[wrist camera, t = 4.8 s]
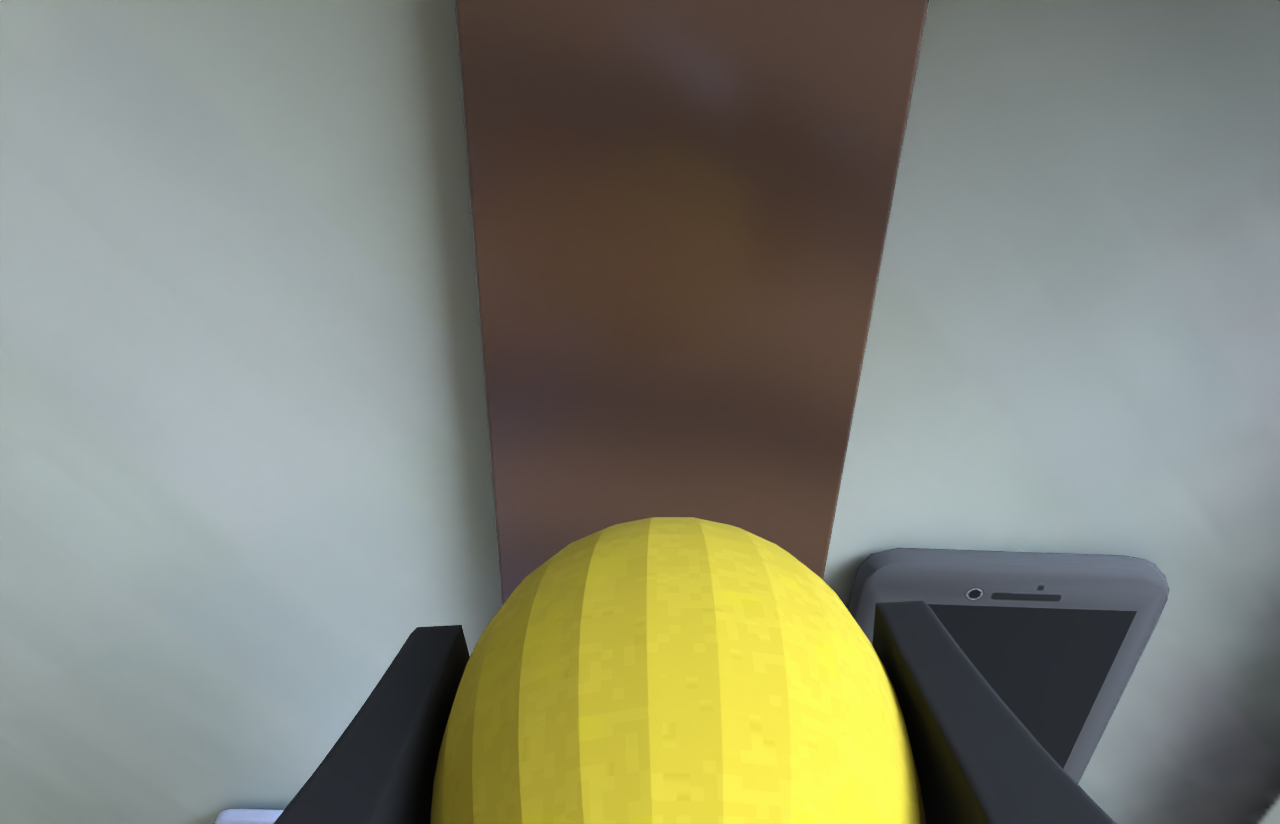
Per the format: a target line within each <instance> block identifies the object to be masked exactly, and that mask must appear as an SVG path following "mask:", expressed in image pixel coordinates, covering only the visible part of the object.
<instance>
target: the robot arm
mask: <svg viewBox="0 0 1280 824" xmlns="http://www.w3.org/2000/svg"><path fill="white" fill-rule="evenodd" d="M872 646H873V647H874V649H875V651H876V653H877V654H878V656H879V658H880V660H881V662H882V663H883V665H884V667H885V669H886V672H887V674H888V676H889V678H890V681H891V683H892V685H893V687H894V690H895V692H896V695H897V698H898V701H899V704H900V707H901V710H902V713H903V716H904V719H905V724H906V728H907V732H908V736H909V740H910V744H911V748H912V753H913V757H914V761H915V765H916V769H917V773H918V778H919V782H920V787H921V793H922V799H923V805H924V811H925V818H926V824H1116V823H1115V822H1114V821H1113V820H1112V819H1111V818H1110V817H1109V816H1108V815H1107V814H1106V813H1105V812H1104V811H1103V810H1102V809H1101V808H1100V807H1099V806H1098V805H1097V804H1096V803H1095V802H1094V801H1093V800H1092V799H1091V798H1090V797H1089V796H1088V795H1087V794H1086V793H1085V792H1084V791H1083V790H1082V788H1081V787H1080V786H1079V785H1078V784H1077V783H1076V782H1075V781H1074V780H1073V779H1072V778H1071V777H1070V776H1069V775H1068V774H1067V773H1066V772H1065V771H1064V770H1063V769H1062V767H1061V766H1060V765H1059V764H1058V763H1057V762H1056V761H1055V760H1054V759H1053V758H1052V757H1051V755H1050V754H1049V753H1048V752H1047V751H1046V750H1045V749H1044V748H1043V747H1042V746H1041V744H1040V743H1039V742H1038V741H1037V740H1036V739H1035V738H1034V736H1033V735H1032V734H1031V733H1030V732H1029V731H1028V729H1027V728H1026V727H1025V726H1024V725H1023V724H1022V723H1021V721H1020V720H1019V719H1018V718H1017V717H1016V716H1015V714H1014V713H1013V712H1012V711H1011V710H1010V709H1009V708H1008V706H1007V705H1006V704H1005V703H1004V702H1003V700H1002V699H1001V698H1000V697H999V696H998V694H997V693H996V692H995V691H994V690H993V688H992V687H991V686H990V685H989V684H988V682H987V681H986V680H985V679H984V677H983V676H982V675H981V674H980V672H979V671H978V670H977V669H976V667H975V666H974V665H973V664H972V662H971V661H970V660H969V658H968V657H967V656H966V655H965V653H964V652H963V651H962V649H961V648H960V647H959V646H958V644H957V643H956V642H955V640H954V639H953V638H952V636H951V635H950V634H949V632H948V631H947V630H946V628H945V627H944V625H943V624H942V623H941V621H940V620H939V619H938V617H937V616H936V615H935V613H934V612H933V610H932V609H931V608H930V606H928V605H927V604H926V603H925V602H924V601H905V602H886V603H876V605H875V617H874V628H873V640H872ZM469 658H470V656H469V652H468V648H467V644H466V641H465V637H464V633H463V629H462V625H452V626H433V627H417V628H416V629H415V630H414V631H413V632H412V633H411V634H410V636H409V637H408V639H407V641H406V642H405V644H404V645H403V647H402V648H401V650H400V651H399V653H398V654H397V656H396V657H395V659H394V660H393V662H392V663H391V665H390V666H389V668H388V669H387V671H386V672H385V674H384V675H383V677H382V678H381V680H380V681H379V683H378V684H377V686H376V687H375V689H374V690H373V691H372V693H371V694H370V696H369V697H368V699H367V700H366V702H365V703H364V704H363V706H362V707H361V709H360V710H359V712H358V713H357V715H356V716H355V717H354V719H353V720H352V722H351V723H350V724H349V726H348V727H347V728H346V730H345V731H344V732H343V734H342V735H341V737H340V738H339V739H338V741H337V742H336V743H335V745H334V746H333V748H332V749H331V750H330V752H329V753H328V754H327V756H326V757H325V759H324V760H323V761H322V763H321V764H320V765H319V767H318V768H317V769H316V771H315V772H314V773H313V774H312V776H311V777H310V778H309V780H308V781H307V782H306V783H305V785H304V786H303V787H302V788H301V790H300V791H299V792H298V793H297V795H296V796H295V797H294V798H293V800H292V801H291V802H290V803H289V805H288V806H287V807H286V808H285V810H269V809H226V810H224V811H221V812H220V813H219V815H218V816H217V819H216V821H215V823H214V824H430V823H431V805H432V795H433V784H434V778H435V772H436V766H437V760H438V755H439V750H440V747H441V743H442V739H443V735H444V732H445V728H446V724H447V721H448V718H449V715H450V712H451V709H452V705H453V702H454V699H455V696H456V693H457V690H458V687H459V684H460V681H461V679H462V676H463V673H464V670H465V668H466V665H467V663H468V660H469Z"/></svg>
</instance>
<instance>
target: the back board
mask: <svg viewBox="0 0 1280 824" xmlns="http://www.w3.org/2000/svg"><path fill="white" fill-rule="evenodd" d="M928 3H929V0H455V11H456V24H457V36H458V49H459V62H460V75H461V87H462V100H463V113H464V125H465V138H466V151H467V164H468V176H469V189H470V202H471V214H472V227H473V240H474V252H475V265H476V278H477V291H478V303H479V316H480V329H481V341H482V354H483V367H484V379H485V392H486V405H487V418H488V430H489V443H490V456H491V468H492V481H493V494H494V506H495V519H496V532H497V545H498V557H499V570H500V583H501V595H502V606H503V604H504V603H505V602H506V600H507V599H508V598H509V596H510V595H511V594H512V593H513V591H514V590H515V589H516V588H517V587H518V585H519V584H520V583H521V582H522V581H523V580H524V579H525V577H526V576H528V575H529V574H530V573H532V572H533V571H534V570H536V569H537V568H538V567H540V566H541V565H542V564H544V563H545V562H546V561H548V560H549V559H550V558H551V557H553V556H554V555H555V554H557V553H558V552H559V551H561V550H562V549H563V548H565V547H566V546H567V545H569V544H570V543H572V542H575V541H577V540H579V539H582V538H584V537H586V536H589V535H591V534H593V533H596V532H598V531H600V530H603V529H605V528H607V527H610V526H613V525H615V524H620V523H626V522H631V521H636V520H641V519H646V518H651V517H694V518H699V519H703V520H708V521H713V522H718V523H723V524H728V525H732V526H735V527H738V528H741V529H743V530H745V531H747V532H750V533H752V534H754V535H756V536H759V537H761V538H763V539H765V540H767V541H770V542H772V543H774V544H776V545H778V546H779V547H781V548H782V549H784V550H785V551H787V552H788V553H790V554H791V555H792V556H794V557H795V558H796V559H797V560H799V561H800V562H801V563H802V564H804V565H805V566H806V567H808V568H809V569H810V570H811V571H813V572H814V573H815V574H816V575H818V576H819V577H820V578H821V579H822V580H823V576H824V571H825V565H826V560H827V555H828V549H829V544H830V538H831V533H832V527H833V522H834V516H835V511H836V505H837V500H838V495H839V489H840V484H841V478H842V473H843V467H844V462H845V456H846V451H847V445H848V440H849V435H850V429H851V424H852V418H853V413H854V407H855V402H856V396H857V391H858V385H859V380H860V374H861V369H862V364H863V358H864V353H865V347H866V342H867V336H868V331H869V325H870V320H871V314H872V309H873V304H874V298H875V293H876V287H877V282H878V276H879V271H880V265H881V260H882V254H883V249H884V244H885V238H886V233H887V227H888V222H889V216H890V211H891V205H892V200H893V194H894V189H895V184H896V178H897V173H898V167H899V162H900V156H901V151H902V145H903V140H904V134H905V129H906V123H907V118H908V113H909V107H910V102H911V96H912V91H913V85H914V80H915V74H916V69H917V63H918V58H919V53H920V47H921V42H922V36H923V31H924V25H925V20H926V14H927V9H928Z"/></svg>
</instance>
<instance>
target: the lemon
mask: <svg viewBox="0 0 1280 824" xmlns="http://www.w3.org/2000/svg"><path fill="white" fill-rule="evenodd" d="M430 824H926V818H925V811H924V805H923V799H922V793H921V787H920V782H919V778H918V773H917V769H916V765H915V761H914V757H913V753H912V748H911V744H910V740H909V736H908V732H907V728H906V724H905V719H904V716H903V713H902V710H901V707H900V704H899V701H898V698H897V695H896V692H895V690H894V687H893V685H892V683H891V681H890V678H889V676H888V674H887V672H886V669H885V667H884V665H883V663H882V662H881V660H880V658H879V656H878V654H877V653H876V651H875V649H874V647H873V646H872V644H871V642H870V641H869V639H868V638H867V637H866V635H865V634H864V632H863V631H862V629H861V628H860V627H859V625H858V624H857V622H856V621H855V619H854V618H853V617H852V615H851V614H850V612H849V611H848V609H847V608H846V607H845V605H844V604H843V602H842V601H841V600H840V598H839V597H838V595H837V594H836V593H835V592H834V591H833V590H832V589H831V588H830V587H829V586H828V585H827V584H826V583H825V582H824V581H823V580H822V579H821V578H820V577H819V576H818V575H816V574H815V573H814V572H813V571H811V570H810V569H809V568H808V567H806V566H805V565H804V564H802V563H801V562H800V561H799V560H797V559H796V558H795V557H794V556H792V555H791V554H790V553H788V552H787V551H785V550H784V549H782V548H781V547H779V546H778V545H776V544H774V543H772V542H770V541H767V540H765V539H763V538H761V537H759V536H756V535H754V534H752V533H750V532H747V531H745V530H743V529H741V528H738V527H735V526H732V525H728V524H723V523H718V522H713V521H708V520H703V519H699V518H694V517H651V518H646V519H641V520H636V521H631V522H626V523H620V524H615V525H613V526H610V527H607V528H605V529H603V530H600V531H598V532H596V533H593V534H591V535H589V536H586V537H584V538H582V539H579V540H577V541H575V542H572V543H570V544H569V545H567V546H566V547H565V548H563V549H562V550H561V551H559V552H558V553H557V554H555V555H554V556H553V557H551V558H550V559H549V560H548V561H546V562H545V563H544V564H542V565H541V566H540V567H538V568H537V569H536V570H534V571H533V572H532V573H530V574H529V575H528V576H526V577H525V579H524V580H523V581H522V582H521V583H520V584H519V585H518V587H517V588H516V589H515V590H514V591H513V593H512V594H511V595H510V596H509V598H508V599H507V600H506V602H505V603H504V604H503V606H502V607H501V608H500V610H499V611H498V612H497V614H496V615H495V616H494V617H493V619H492V620H491V621H490V623H489V624H488V626H487V627H486V629H485V631H484V632H483V634H482V635H481V637H480V639H479V640H478V642H477V644H476V646H475V648H474V650H473V652H472V654H471V656H470V658H469V660H468V663H467V665H466V668H465V670H464V673H463V676H462V679H461V681H460V684H459V687H458V690H457V693H456V696H455V699H454V702H453V705H452V709H451V712H450V715H449V718H448V721H447V724H446V728H445V732H444V735H443V739H442V743H441V747H440V750H439V755H438V760H437V766H436V772H435V778H434V784H433V795H432V805H431V823H430Z"/></svg>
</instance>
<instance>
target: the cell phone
mask: <svg viewBox="0 0 1280 824" xmlns="http://www.w3.org/2000/svg"><path fill="white" fill-rule="evenodd" d="M1168 594H1169V587H1168V583H1167V580H1166V577H1165V575H1164V574H1163V573H1162V572H1161V571H1160V570H1159V568H1158V567H1157V566H1156V565H1155V564H1153V563H1151V562H1149V561H1147V560H1144V559H1140V558H1135V557H1129V556H1119V555H1090V554H1061V553H1032V552H1003V551H974V550H945V549H916V548H895V549H891V550H887V551H883V552H878V553H874V554H870V556H869V557H868V558H867V559H866V560H865V561H864V563H863V564H862V565H861V566H860V567H859V568H858V572H857V575H856V578H855V582H854V586H853V589H852V593H851V597H850V601H849V605H848V611H849V612H850V614H851V615H852V617H853V618H854V619H855V621H856V622H857V624H858V625H859V627H860V628H861V629H862V631H863V632H864V634H865V635H866V637H867V638H868V639H869V641H870V642H871V644H872V640H873V628H874V617H875V605H876V603H886V602H905V601H924V602H925V603H926V604H927V605H928V606H930V608H931V609H932V610H933V612H934V613H935V615H936V616H937V617H938V619H939V620H940V621H941V623H942V624H943V625H944V627H945V628H946V630H947V631H948V632H949V634H950V635H951V636H952V638H953V639H954V640H955V642H956V643H957V644H958V646H959V647H960V648H961V649H962V651H963V652H964V653H965V655H966V656H967V657H968V658H969V660H970V661H971V662H972V664H973V665H974V666H975V667H976V669H977V670H978V671H979V672H980V674H981V675H982V676H983V677H984V679H985V680H986V681H987V682H988V684H989V685H990V686H991V687H992V688H993V690H994V691H995V692H996V693H997V694H998V696H999V697H1000V698H1001V699H1002V700H1003V702H1004V703H1005V704H1006V705H1007V706H1008V708H1009V709H1010V710H1011V711H1012V712H1013V713H1014V714H1015V716H1016V717H1017V718H1018V719H1019V720H1020V721H1021V723H1022V724H1023V725H1024V726H1025V727H1026V728H1027V729H1028V731H1029V732H1030V733H1031V734H1032V735H1033V736H1034V738H1035V739H1036V740H1037V741H1038V742H1039V743H1040V744H1041V746H1042V747H1043V748H1044V749H1045V750H1046V751H1047V752H1048V753H1049V754H1050V755H1051V757H1052V758H1053V759H1054V760H1055V761H1056V762H1057V763H1058V764H1059V765H1060V766H1061V767H1062V769H1063V770H1064V771H1065V772H1066V773H1067V774H1068V775H1069V776H1070V777H1071V778H1072V779H1073V780H1074V781H1075V782H1076V783H1077V784H1078V783H1079V781H1080V779H1081V777H1082V775H1083V773H1084V771H1085V769H1086V767H1087V765H1088V763H1089V761H1090V759H1091V757H1092V755H1093V753H1094V751H1095V749H1096V747H1097V744H1098V742H1099V740H1100V738H1101V736H1102V734H1103V732H1104V730H1105V728H1106V726H1107V724H1108V722H1109V720H1110V718H1111V716H1112V714H1113V712H1114V710H1115V708H1116V706H1117V704H1118V702H1119V700H1120V698H1121V696H1122V694H1123V692H1124V690H1125V688H1126V686H1127V684H1128V681H1129V679H1130V677H1131V675H1132V673H1133V671H1134V669H1135V667H1136V665H1137V663H1138V661H1139V659H1140V657H1141V655H1142V653H1143V651H1144V649H1145V647H1146V645H1147V643H1148V641H1149V639H1150V637H1151V635H1152V633H1153V631H1154V629H1155V627H1156V624H1157V622H1158V620H1159V617H1160V615H1161V613H1162V610H1163V608H1164V606H1165V604H1166V601H1167V598H1168Z"/></svg>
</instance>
